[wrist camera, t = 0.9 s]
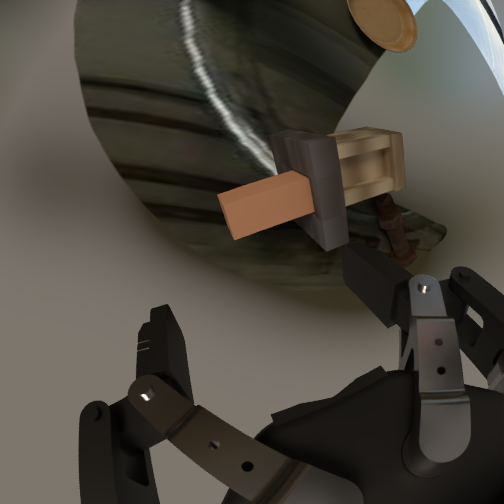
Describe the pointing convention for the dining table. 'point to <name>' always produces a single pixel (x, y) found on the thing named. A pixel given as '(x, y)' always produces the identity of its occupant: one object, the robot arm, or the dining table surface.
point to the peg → (266, 203)
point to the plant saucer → (385, 22)
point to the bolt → (394, 230)
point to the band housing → (340, 173)
